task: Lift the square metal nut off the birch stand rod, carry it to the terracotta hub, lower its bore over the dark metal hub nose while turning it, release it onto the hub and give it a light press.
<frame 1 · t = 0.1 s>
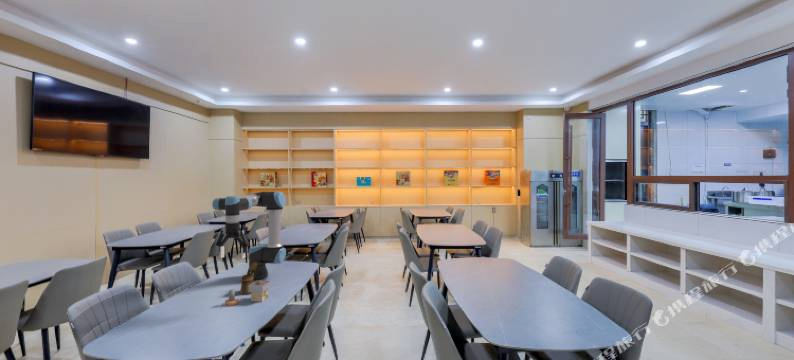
hand: (232, 257, 181), 28 cm above the table, fingers open, 13 cm apart
hub: (231, 303, 182), on the table
square metal nut: (259, 289, 189), point 6 cm above the table, touching stand
stand: (259, 299, 189), on the table
wooden mug: (249, 291, 202), on the table
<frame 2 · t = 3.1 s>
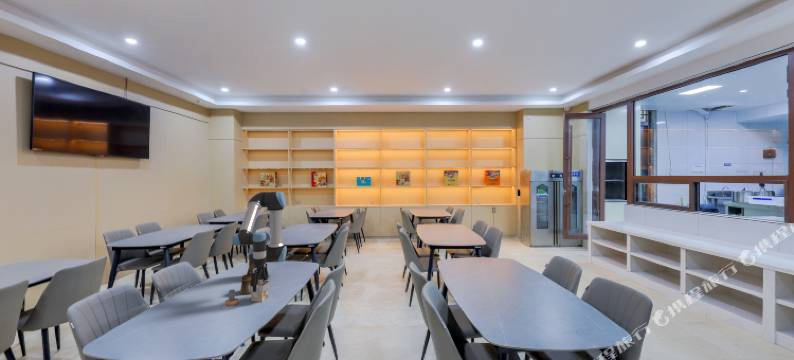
hand: (259, 293, 189), 3 cm above the table, fingers closed on square metal nut, 9 cm apart
square metal nut: (259, 289, 189), point 6 cm above the table, touching gripper, stand
everything else where it was.
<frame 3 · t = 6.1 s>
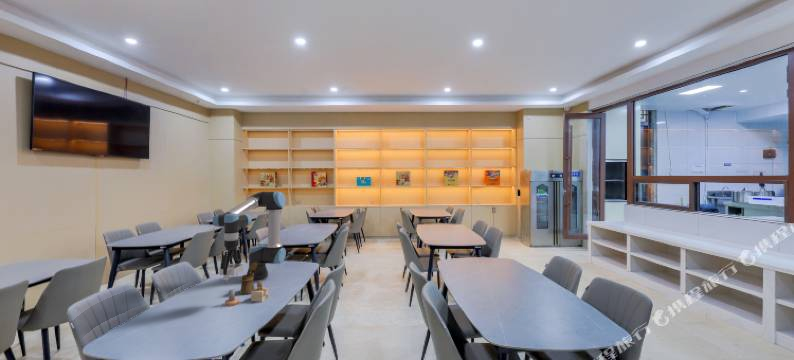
hand: (231, 277, 182), 16 cm above the table, fingers closed on square metal nut, 9 cm apart
square metal nut: (231, 272, 182), point 19 cm above the table, touching gripper
everything else where it was.
when the fingers open (2 cm above the table, at t = 9.2 s): square metal nut drops 2 cm, resting on hub.
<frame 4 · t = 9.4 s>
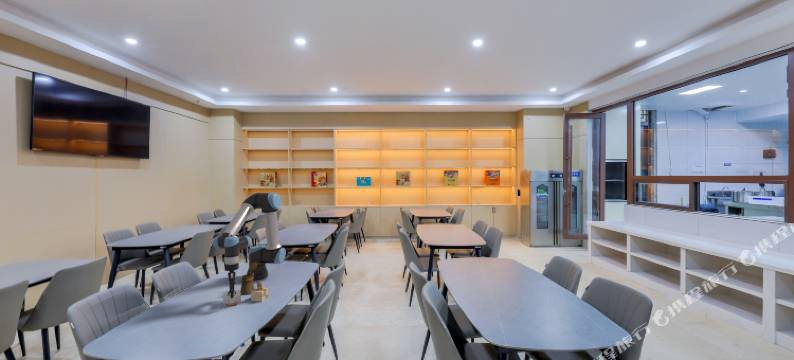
hand: (231, 299, 182), 3 cm above the table, fingers open, 11 cm apart
square metal nut: (232, 300, 183), point 2 cm above the table, touching hub
everything else where it was.
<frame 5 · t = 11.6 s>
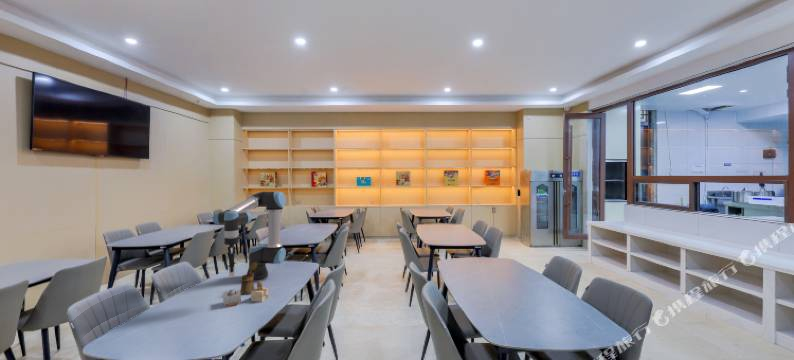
hand: (231, 276, 182), 17 cm above the table, fingers open, 3 cm apart
nothing on the table moved.
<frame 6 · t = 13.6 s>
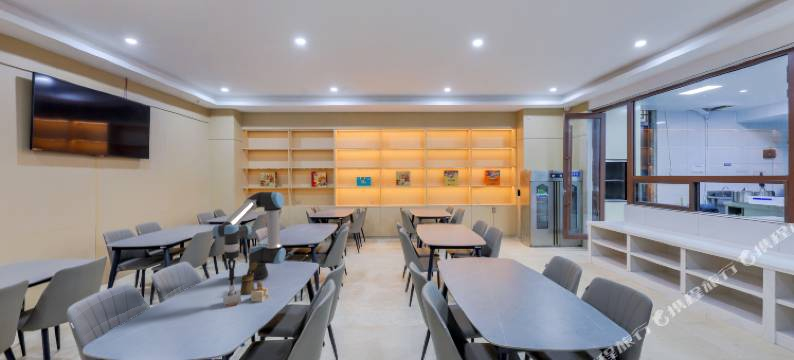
hand: (231, 290, 182), 8 cm above the table, fingers closed
nothing on the table moved.
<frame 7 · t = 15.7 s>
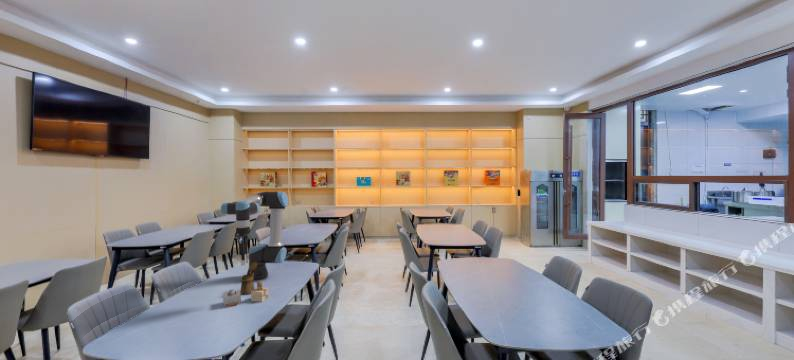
hand: (243, 264, 187), 22 cm above the table, fingers closed
nothing on the table moved.
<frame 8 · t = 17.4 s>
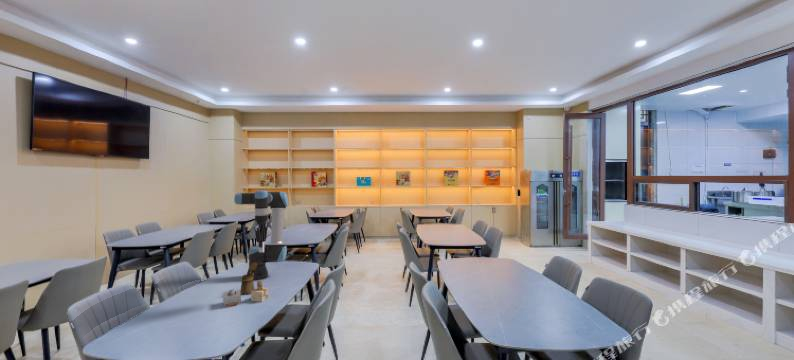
hand: (261, 252, 193), 28 cm above the table, fingers closed
nothing on the table moved.
at the end: square metal nut 0.1 cm from the hub (horizontally); square metal nut point 2.0 cm above the table; the gripper is holding nothing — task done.
